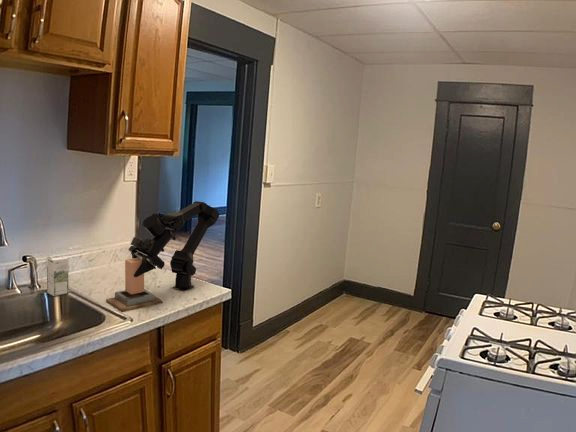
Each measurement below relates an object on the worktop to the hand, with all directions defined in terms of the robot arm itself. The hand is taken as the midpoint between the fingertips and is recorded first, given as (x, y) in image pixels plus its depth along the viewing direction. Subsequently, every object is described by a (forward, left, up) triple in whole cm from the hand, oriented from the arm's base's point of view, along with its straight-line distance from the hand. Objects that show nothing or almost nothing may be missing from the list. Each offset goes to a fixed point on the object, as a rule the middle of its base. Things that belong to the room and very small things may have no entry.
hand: (131, 274), depth 171 cm
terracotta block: (-1, 0, -7) cm, 7 cm away
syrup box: (+8, -30, -11) cm, 33 cm away
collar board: (-1, 0, -11) cm, 11 cm away
